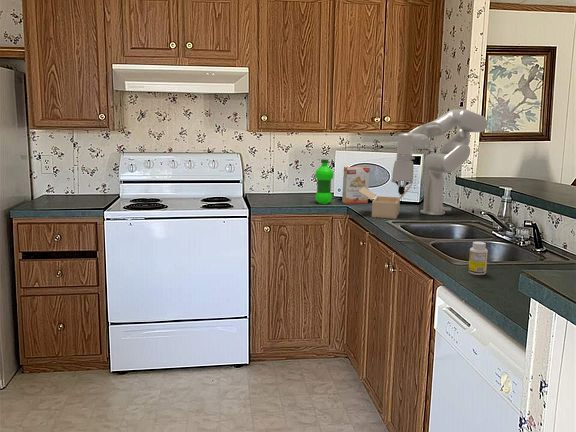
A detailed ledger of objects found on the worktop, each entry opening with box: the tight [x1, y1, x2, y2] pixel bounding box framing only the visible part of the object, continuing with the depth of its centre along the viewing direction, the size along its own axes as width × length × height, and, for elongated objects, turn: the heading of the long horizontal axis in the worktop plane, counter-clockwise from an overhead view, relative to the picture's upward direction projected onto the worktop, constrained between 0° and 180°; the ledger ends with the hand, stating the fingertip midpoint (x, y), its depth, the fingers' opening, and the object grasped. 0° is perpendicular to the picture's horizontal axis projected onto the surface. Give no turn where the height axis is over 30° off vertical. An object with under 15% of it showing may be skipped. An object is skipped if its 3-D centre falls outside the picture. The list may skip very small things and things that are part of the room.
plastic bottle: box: [314, 158, 334, 205], centre depth 333 cm, size 10×10×25 cm
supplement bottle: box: [468, 241, 489, 276], centre depth 191 cm, size 6×6×10 cm
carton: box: [371, 195, 401, 220], centre depth 300 cm, size 12×21×8 cm, turn 165°
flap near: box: [398, 184, 412, 201], centre depth 296 cm, size 8×18×1 cm
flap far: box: [358, 187, 377, 201], centre depth 301 cm, size 8×18×1 cm
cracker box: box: [341, 166, 371, 205], centre depth 336 cm, size 14×6×21 cm, turn 105°
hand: (401, 194), depth 296 cm, fingers closed
